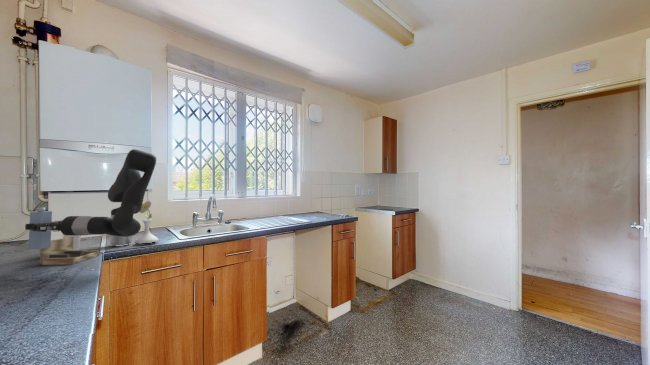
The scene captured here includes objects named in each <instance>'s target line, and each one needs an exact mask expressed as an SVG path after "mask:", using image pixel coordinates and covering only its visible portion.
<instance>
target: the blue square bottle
mask: <svg viewBox="0 0 650 365" xmlns="http://www.w3.org/2000/svg"><path fill="white" fill-rule="evenodd" d="M52 218H53V211H51V210H50V211H49V210H46V207H37V211H30V212H29V224H37V223H44V222H52V221H53V220H52ZM50 224H51V223H50ZM48 225H49V224H48ZM28 232H29V233H28V234H29V235H28V250H41V249H43V248H47V247H51V241H52V231H45V232H40V231H32V230H28Z"/></svg>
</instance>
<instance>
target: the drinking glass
mask: <svg viewBox="0 0 650 365" xmlns="http://www.w3.org/2000/svg"><path fill="white" fill-rule="evenodd" d="M81 236H82V235H64V234H63V233H62V239H63V238H68V237H74V241H73V250H80V244H81Z"/></svg>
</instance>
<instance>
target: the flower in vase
mask: <svg viewBox="0 0 650 365" xmlns="http://www.w3.org/2000/svg"><path fill="white" fill-rule="evenodd" d="M151 206H152V201H150V200H146V201H145V202H143V203H142V207H141V210H140V212H139V213H140V214H144V215H143V216H144V217H146V218H147V219H141V220H142V221H141V222H143V225H144V231H143V233H142V234H141V235H140V236H138V237H137V238H136V239H135V240H134V244H136V243H138V244H137V245H142V244H141V243H150V242H155V241H157V242H159V238H158V237H157V236H156V235H153V234H152V232H151V231H150V227H151V223H152V222H153V219H152V217H153V216H152V214H151V212H150V210H149V209H150V208H151ZM147 211H148V214H146V212H147ZM155 243H156V242H155Z"/></svg>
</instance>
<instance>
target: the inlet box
mask: <svg viewBox="0 0 650 365" xmlns="http://www.w3.org/2000/svg"><path fill="white" fill-rule="evenodd" d="M73 241H74V237H68V238H63V237H62V238H58V239H54V240H53V239H51V247H47V248H43V249H40V252H39V253H40V254H39V266H55V265H74V264H75V265H76V264H77V263H80V262H81V263H82V262H85V261H88V260H90V259H93V257H94V258H97V257H99V256H100V250H97V249H96V250H83V249H82V250H80V249H79V250H73ZM96 256H97V257H96Z"/></svg>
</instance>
